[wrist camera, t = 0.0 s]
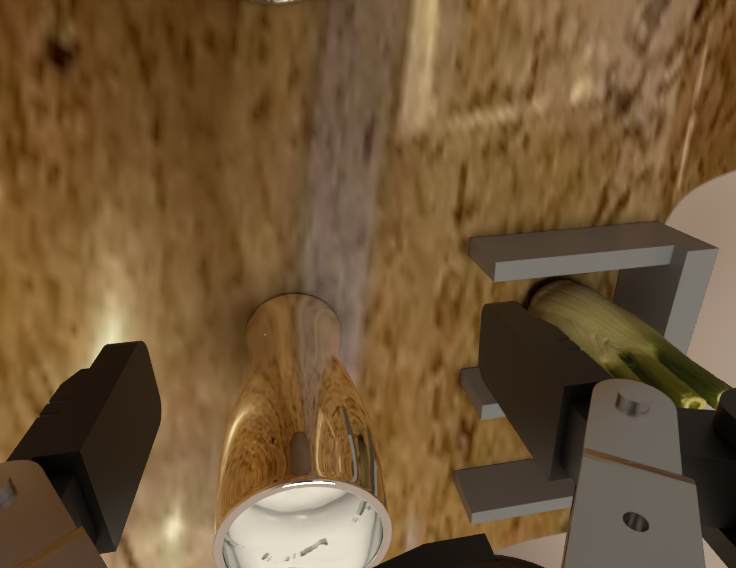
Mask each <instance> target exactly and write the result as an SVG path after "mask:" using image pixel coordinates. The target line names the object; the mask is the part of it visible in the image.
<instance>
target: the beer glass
mask: <svg viewBox="0 0 736 568" xmlns="http://www.w3.org/2000/svg"><path fill="white" fill-rule="evenodd" d="M245 341H246V346H247V350H248V353H249V366H248V370H247V373H246V376H245V378H244V380H243V383H242V385H241V387H240V390H239V392H238V395H237V397H236V400H235V402H234V405H233V407H232V410H231V413H230V416H229V419H228V422H227V425H226V429H225V432H224V437H223V442H222V448H221V453H220V458H219V467H218V477H217V489H216V510H215V537H214V542H213V559H214V563H215V566H216V568H373V567H375V566H377V565H379V564H380V562H381V561H382V560H383V558H384V556H385V555H386V553H387V551H388V548H389V546H390V543H391V538H392V524H391V519H390V516H389V512H388V505H387V497H386V490H385V483H384V476H383V470H382V464H381V459H380V454H379V450H378V445H377V441H376V437H375V434H374V430H373V427H372V424H371V420H370V417H369V415H368V412H367V410H366V408H365V406H364V403H363V401H362V399H361V397H360V395H359V393H358V391H357V389H356V387H355V385H354V383H353V381H352V380H351V378H350V376H349V374H348V372H347V371H346V369H345V367H344V365H343V363H342V361H341V358H340V347H341V326H340V323H339V320H338V318H337V316H336V314H335V313H334V311H333V310H332V309H331V308H330V307H329V306H328V305H327V304H326V303H324V302H323V301H321V300H319V299H317V298H315V297H313V296H309V295H305V294H284V295H280V296H277V297H274V298H272V299H270V300H268V301H266V302H265V303H263V304H262V305H261V306H260V307H258V308H257V309H256V311H255V312H254V313H253V314H252V316H251V318H250V320H249V322H248V324H247V327H246V332H245Z"/></svg>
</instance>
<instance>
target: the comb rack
mask: <svg viewBox="0 0 736 568" xmlns="http://www.w3.org/2000/svg"><path fill="white" fill-rule="evenodd" d="M718 250H719V248H717V247H715V246H713V245H710V244H708V243H706V242H704V241H701V240H699V239H697V238H694V237H692V236H690V235H688V234H685V233H683V232H681V231H678V230H676V229H674V228H672V227H669V226H667V225H665V224H663V223H660V222H658V221H656V222H644V223H633V224H622V225H611V226H599V227H588V228H577V229H565V230H554V231H543V232H532V233H520V234H509V235H498V236H487V237H475V238H470V248H469V256H470V257H471V258H472V259H473V260H474V262H475V263H476V264H477V265H478V266H479V267H480V268H481V269H482V270H483V271H484V272H485V273H486V274H487V275H488V276H489V277H490V278H491V279H492V281H493V282H500V281H510V280H520V279H529V278H539V277H549V276H558V275H568V274H578V273H588V272H597V271H607V270H617V269H620V273H619V277H618V282H617V286H616V291H615V296H614V300H613V303H614V304H616V305H618V306H619V307H621V308H623V309H626V310H627V311H629V312H630V313H632V314H634V315H635V316H637V317H638V318H639V319H641V320H642V321H644V322H645V323H646V324H648V325H649V326H650V327H652V328H653V329H655V330H656V331H657V332H658V333H660V334H661V335H662V336H663V337H664V338H666V340H667V341H669V342H670V343H671V344H672V345H674V346H675V347H676V348H678V349H679V351H681V352H682V353H683V354H685V355H686V354H687V350H688V347H689V344H690V341H691V338H692V334H693V331H694V328H695V324H696V322H697V318H698V315H699V312H700V309H701V305H702V302H703V299H704V296H705V292H706V289H707V286H708V283H709V280H710V276H711V273H712V270H713V266H714V263H715V260H716V257H717V254H718ZM641 382H642V381H641ZM460 383H461V385H462V387H463V388H464V390H465V392H466V394H467V396H468V397H469V399H470V401H471V403H472V405H473V406H474V408H475V410H476V412H477V414H478V415H479V417H480V419H481V420H485V419H492V418H499V417H506V415H505V414H504V412H503V411H502V409H501V408H500V406H499V405H498V403H497V402H496V400H495V399H494V397H493V396H492V394H491V393H490V391H489V390H488V388H487V387H486V385H485V384H484V382H483V380H482V377H481V374H480V369H479V367H475V368H468V369H461V382H460ZM642 383H643V382H642ZM454 484H455V486H456V488H457V491H458V493H459V496H460V498H461V501H462V503H463V506H464V508H465V510H466V513H467V515H468V518H469V520H470V523H471V524H476V523H482V522H488V521H494V520H499V519H505V518H511V517H517V516H522V515H528V514H534V513H540V512H545V511H551V510H557V509H563V508H568V507H571V505H572V499H573V493H574V488H575V483H574V482H573V481H572V479H571V478H568V479H562V480H556V481H550V482H549V481H548V479H547V477H546V476H545V474H544V473H543V471H542V470H541V468H540V467H539V465H538V464H537V462H536V461H535V459H529V460H522V461H516V462H510V463H503V464H497V465H491V466H484V467H478V468H471V469H465V470H459V471H455V472H454Z"/></svg>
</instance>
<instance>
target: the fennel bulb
mask: <svg viewBox="0 0 736 568" xmlns="http://www.w3.org/2000/svg"><path fill="white" fill-rule="evenodd" d="M527 312H528V313H529V314H530V315H532V316H533V317H534V318H540V319H542V320H545V321H547V322H549V323H551V324H553V325H555V326H557V327H558V328H559V329H560V330H562V331H563V332H564V333H565V334H566V335H567V336H568V337H569V338H570V341H572V340H573V341H574V342H575V343H576V344H577V345H578V346H579V347H580V349H581V350H584V351H585V352H586V353H587V354H588V355H589V356H590V357H591V358H592V359H593V360H595V361H596V362H597V363H598V364H599V365H600V366H601V367H602V368H603V369H604V370H606V371H607V372H608V373H609V374H610V375H611V376H612V377H613V378H614V379H628V380H634V381H638V382H641V381H642V382H643V383H644V384H647V385H649V386H652V387H654V388H656V389H658V390H659V391H661V392H662V393H664V394H665V395H667V396H668V397H669V398H670V399H671V400H672V402H673V403H674V405H675V406H676V407H679V408H692V409H703V408H704V407H705V406H706V403H707V404H709V405H710V406H711V407H712V408H714V409H717V406H718V402H719V399H720V396H721V394H722V393H723V392H724V391H726V390H729V389H732V387H731V386H729V385H728V384H726V383H725V382H724V381H722V380H720V379H718V378H717V377H715V376H714V375H713V374H711V373H710V372H708V371H707V370H705V369H704V368H702V367H701V366H699V365H698V364H696V363H695V362H693V361H692V360H691V359H689V358H688V357H687V356H686V355H685V354H683V353H682V352H681V351H679V349H678V348H676V347H675V346H674V345H672V344H671V343H670V342H669V341H667V340H666V338H664V337H663V336H662V335H661V334H660V333H658V332H657V331H656V330H655V329H653V328H652V327H650V326H649V325H648V324H646V323H645V322H644V321H642V320H641V319H639V318H638V317H637V316H635V315H634V314H632V313H630V312H629V311H627V310H626V309H623V308H621V307H619V306H618V305H616V304H614V303H613V302H611V301H610V300H608V299H607V298H605V297H603V296H602V295H601V294H599V293H598V292H596V291H594V290H592V289H590V288H588V287H586V286H584V285H581V284H577V283H574V282H572V281H570V280H557V281H553V282H551V283H549V284H546V285H544V286H543V287H542V288H540V289H539V290H538V291H537V292H536V293H535V294H534V296H533V297H532V299H531V303H530V305H529V307H528V309H527ZM642 382H641V383H642Z"/></svg>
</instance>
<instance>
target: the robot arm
mask: <svg viewBox="0 0 736 568" xmlns="http://www.w3.org/2000/svg"><path fill="white" fill-rule="evenodd" d="M249 1H252V2H255V3H259V4H269V5H284V4H291V3H298V2H301V1H303V0H249ZM479 369H480V374H481V377H482V380H483V382H484V384H485V385H486V387H487V388H488V390H489V391H490V393H491V394H492V396H493V397H494V399H495V400H496V402H497V403H498V405H499V406H500V408H501V409H502V411H503V412H504V414H505V415H506V417H507V418H508V420H509V422H510V423H511V425H512V426H513V428H514V429H515V431H516V432H517V434H518V435H519V437H520V438H521V440H522V441H523V443H524V444H525V446H526V447H527V449H528V450H529V452H530V453H531V455H532V456H533V458H534V459H535V461H536V462H537V464H538V465H539V467H540V468H541V470H542V471H543V473H544V474H545V476H546V477H547V479H548V481H549V482H550V481H556V480H562V479H568V478H571V479H572V481H573V482H574V483H575V488H574V493H573V499H572V505H571V511H570V517H569V523H568V529H567V534H566V540H565V546H564V552H563V559H562V564H561V568H706V567H705V558H704V550H703V542H702V537H703V538H704V540H705V541H706V542H707V543H708V544H709V546H710V547H711V548H712V549H713V550H714V551H715V553H716V554H717V555H718V556H719V557H720V559H721V560H722V561H723V562H724V563H725V565H726V566H727V567H728V568H736V388H732V389H729V390H726V391H724V392H723V393H722V394H721V396H720V399H719V402H718V406H717V409H716V410H704V409H692V408H679V407H676V406H675V405H674V403H673V402H672V400H671V399H670V398H669V397H668V396H667V395H665V394H664V393H662V392H661V391H659V390H658V389H656V388H654V387H652V386H649V385H647V384H644V383H641V382H638V381H634V380H628V379H614V378H613V377H612V376H611V375H610V374H609V373H608V372H607V371H606V370H604V369H603V368H602V367H601V366H600V365H599V364H598V363H597V362H596V361H595V360H593V359H592V358H591V357H590V356H589V355H588V354H587V353H586V352H585V351H584V350H581V349H580V347H579V346H578V345H577V344H576V343H575V342H574V341H573V340H572V341H570V338H569V337H568V336H567V335H566V334H565V333H564V332H563V331H562V330H560V329H559V328H558V327H557V326H555V325H553V324H551V323H549V322H547V321H545V320H542V319H540V318H534V317H533V316H532V315H530V314H529V313H528V312H527V311H526V310H525V309H524V308H523V307H522V306H521V305H520V304H519V303H518V302H516V301H508V302H499V303H490V304H485V305H484V307H483V309H482V314H481V329H480V343H479ZM49 401H50V403H49V404H47V405H46V406H45V407H44V409H43V410H42V412H41V413H40V418H37V419H36V420H35V422H34V423H33V424H32V426H31V427H30V429H29V430H28V431H27V433H26V434H25V436H24V437H23V438H22V440H21V441H20V443H19V444H18V445H17V447H16V448H15V450H14V451H13V452H12V454H11V455H10V457H9V458H8V459H7V461H6V462H4V463H0V568H108V567H107V566H106V564H105V562H104V561H103V559H102V557H101V556H100V554H102V553H109V552H115V551H116V549H117V547H118V544H119V541H120V538H121V535H122V532H123V529H124V526H125V524H126V521H127V518H128V515H129V512H130V509H131V506H132V503H133V500H134V498H135V495H136V492H137V489H138V486H139V483H140V480H141V477H142V475H143V472H144V469H145V466H146V463H147V460H148V457H149V454H150V451H151V449H152V446H153V443H154V440H155V437H156V434H157V431H158V428H159V425H160V421H161V400H160V395H159V391H158V388H157V384H156V380H155V376H154V372H153V368H152V364H151V360H150V356H149V352H148V349H147V346H146V344H145V343H144V342H143V341H134V342H124V343H115V344H107V345H105V346H104V347H103V349H102V350H101V352H100V353H99V355H98V356H97V358H96V359H95V361H94V362H93V364H92V365H91V367H90V368H87V369H81V370H79V371H78V372H77V373H75V374H74V375H73V376H71V377H70V378H69V379H67V380H66V381H65V382H63V383H62V384H61V385H60V386H59V388H58V389H57V391H56V392H55V393H54V395H53V396H52V398H51V399H50V400H49ZM373 568H544V567H542V566H539V565H537V564H534V563H532V562H528V561H525V560H522V559H518V558H514V557H509V556H503V555H494V553H493V551H492V548H491V546H490V544H489V542H488V539H487V537H486V535H485V533H483V534H478V535H472V536H466V537H461V538H455V539H450V540H444V541H438V542H433V543H427V544H423V545H421V546H419V547H416V548H414V549H412V550H410V551H408V552H405V553H403V554H401V555H399V556H397V557H394V558H392V559H390V560H388V561H386V562H383V563H381V564H379V565H377V566H375V567H373Z"/></svg>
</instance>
